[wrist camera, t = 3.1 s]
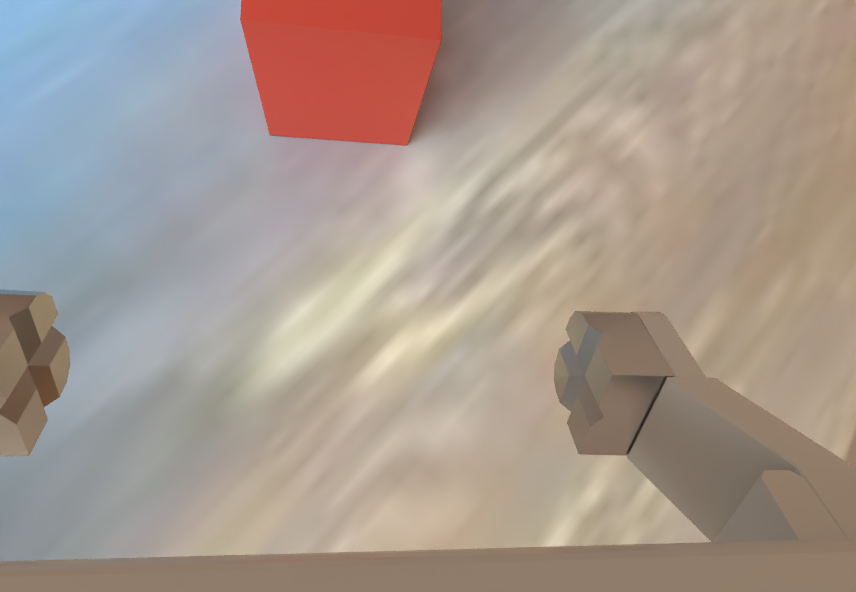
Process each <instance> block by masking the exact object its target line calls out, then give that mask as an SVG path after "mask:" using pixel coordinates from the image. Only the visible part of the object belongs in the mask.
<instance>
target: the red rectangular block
mask: <svg viewBox="0 0 856 592" xmlns="http://www.w3.org/2000/svg"><path fill="white" fill-rule="evenodd" d="M240 20H241V24H242V28H243V32H244V36H245V40H246V44H247V48H248V51H249V55H250V59H251V63H252V67H253V71H254V75H255V79H256V83H257V87H258V91H259V94H260V98H261V102H262V106H263V110H264V114H265V118H266V122H267V126H268V130H269V134H270V135H272V136H285V137H299V138H312V139H326V140H339V141H353V142H367V143H380V144H394V145H407V144H408V141H409V138H410V135H411V132H412V129H413V126H414V123H415V120H416V117H417V114H418V111H419V107H420V104H421V101H422V98H423V95H424V92H425V89H426V86H427V83H428V80H429V77H430V74H431V70H432V67H433V64H434V61H435V58H436V55H437V52H438V49H439V46H440V43H441V32H442V0H242V1H241V18H240Z"/></svg>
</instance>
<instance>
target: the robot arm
mask: <svg viewBox="0 0 856 592" xmlns="http://www.w3.org/2000/svg"><path fill="white" fill-rule="evenodd" d="M57 316H58V311H57V309H56V306H55V303H54V300H53V298H52V296H50V295H49V294H47V293H45V292H36V291H18V290H0V456H29V455H30V453H31V451H32V450H33V448H34V446H35V444H36V442H37V440H38V438H39V436H40V434H41V432H42V430H43V428H44V426H45V425H46V423H47V421H48V418H47V416H46V413H45V410H44V407H45V406H47V405H48V404H50V403H51V402H53V401H54V400H56V399H57V398H59V397H60V395H61V393H62V391H63V389H64V387H65V385H66V383H67V378H68V373H69V368H70V354H69V347H68V344H67V340H66V337H65V336H64V335H63V334H61V333H60V332H59V331H58V330H56V329H55V328H54V327H53V326H52V324H53V323H54V321H55V319H56V317H57ZM566 331H567V334H568V336H569V338H570V341H569V342H567V343H566V344H565V345H564V346H562V347H561V348H560V349H559V351H558V355H557V358H556V361H555V369H554V382H555V389H556V393H557V396H558V399H559V402H560V403H561V404H562V405H564V406H565V407H566V408H567V409H568V410H570V411H571V414H570V416H569V419H568V422H567V424H568V426H569V429H570V432H571V435H572V437H573V440H574V443H575V445H576V448H577V451H578V453H579V454H588V455H628V457H627V458H628V459H629V460H630V461H631V462H632V463H633V464H634V465H635V466H636V467H637V468H638V469H639V470H640V471H641V472H642V473H643V474H644V475H645V476H646V477H647V478H648V479H649V480H650V481H651V482H652V483H653V484H654V485H655V486H656V487H657V488H658V489H659V490H660V491H661V492H662V493H663V494H664V495H665V496H666V497H667V498H668V499H669V500H670V501H671V502H672V503H673V504H674V505H675V506H676V507H677V508H678V509H679V510H680V511H681V512H682V513H683V514H684V515H685V516H686V517H687V518H688V519H689V520H690V521H691V522H692V523H693V524H694V525H695V526H696V527H697V528H698V529H699V530H700V531H701V532H702V533H703V534H704V535H705V536H706V537H707V538H708V539H709V540H710V541H711V542H709V543H671V544H633V545H595V546H558V547H522V548H486V549H450V550H414V551H376V552H338V553H300V554H262V555H224V556H186V557H148V558H111V559H74V560H36V561H0V592H856V468H855V467H853V466H851V465H850V464H848V463H847V462H845V461H844V460H842V459H841V458H839V457H837V456H836V455H834V454H833V453H831V452H830V451H828V450H827V449H825V448H823V447H822V446H820V445H819V444H817V443H816V442H814V441H812V440H811V439H809V438H808V437H806V436H805V435H803V434H802V433H800V432H798V431H797V430H795V429H794V428H792V427H791V426H789V425H787V424H786V423H784V422H783V421H781V420H780V419H778V418H777V417H775V416H773V415H772V414H770V413H769V412H767V411H766V410H764V409H762V408H761V407H759V406H758V405H756V404H755V403H753V402H752V401H750V400H748V399H747V398H745V397H744V396H742V395H741V394H739V393H737V392H736V391H734V390H733V389H731V388H730V387H728V386H727V385H725V384H723V383H722V382H720V381H719V380H717V379H716V378H706V376H705V375H704V373H703V372H702V370H701V369H700V367H699V366H698V364H697V363H696V361H695V360H694V358H693V356H692V355H691V353H690V352H689V350H688V349H687V347H686V346H685V344H684V343H683V341H682V340H681V338H680V337H679V335H678V333H677V332H676V330H675V329H674V327H673V326H672V324H671V323H670V321H669V320H668V318H667V317H666V316H665V315H664V314H662V313H660V312H631V313H624V312H591V311H575V312H574V313H573V314H572V316H571V317H570V319H569V322H568V324H567V327H566Z"/></svg>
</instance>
